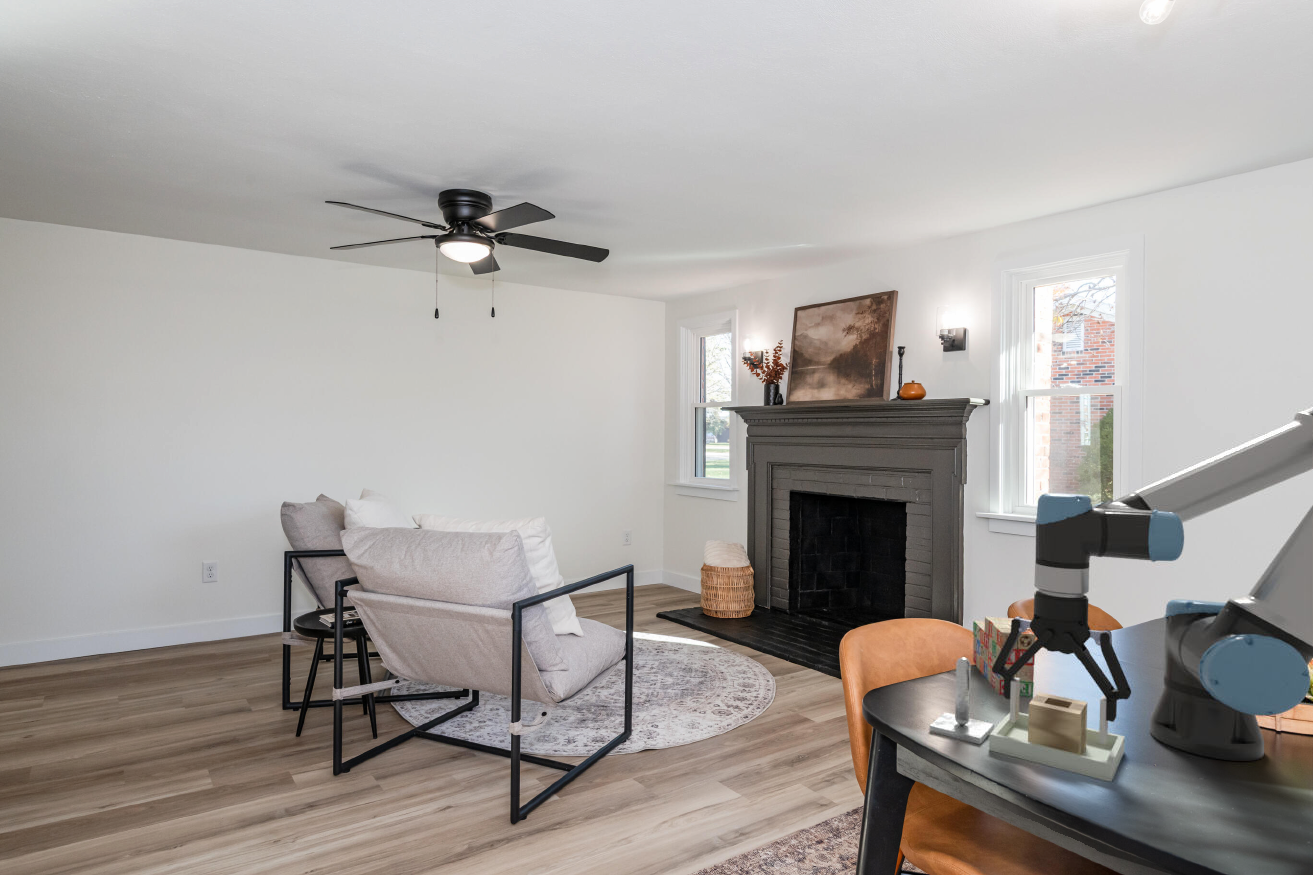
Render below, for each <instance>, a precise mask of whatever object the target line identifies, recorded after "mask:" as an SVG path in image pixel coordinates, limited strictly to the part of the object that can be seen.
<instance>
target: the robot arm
mask: <svg viewBox="0 0 1313 875" xmlns="http://www.w3.org/2000/svg"><path fill="white" fill-rule="evenodd" d="M1311 470H1313V406H1312V405H1311V407H1308V408H1306V409H1303V410H1302V411H1300V412H1297V413H1296V414H1294V418H1293V421H1292V422H1291V423H1288V424H1286V425H1284V426H1282V427H1280V428H1279V427H1278V428H1277V429H1275V430H1272V431H1270V432H1268V433H1266V434H1264V435H1261V436H1259V437H1257V438H1254V439H1252V440H1250V441H1248V442H1245V443H1242V444H1240V445H1239V446H1237V447H1234V448H1232V449H1229V450H1227V451H1224V452H1222V453H1219V454H1218V455H1216V456H1213V457H1211V458H1208V459H1206V460H1203V461H1202V462H1199V463H1197V464H1195V465H1192V466H1190V467H1188V468H1185V469H1184V470H1182V471H1181V470H1180V471H1179V472H1177V473H1174V474H1172V475H1169V476H1168V477H1165V478H1163V479H1161V480H1159V481H1158V480H1157V481H1156V482H1153V483H1152V484H1149V485H1147V486H1144V487H1143V488H1140V489H1138V490H1135V491H1134V492H1131V493H1129V494H1126V495H1125V496H1122V497H1120V498H1117V499H1115V500H1107V501H1106V500H1105V501H1102V502H1098V503H1096V504H1095V505H1093V503H1092V500H1091V497H1090V496H1088V495H1086V494H1077V493H1067V492H1065V493H1064V492H1063V493H1061V492H1049V493H1048V492H1047V493H1043V494H1041V495H1040V496H1039V497H1038V500H1037V511H1036V519H1035V562H1034V587H1035V588H1036V589H1037V590H1036V591H1035V592H1034V595H1033V618H1032V619H1025V618H1023V617H1022V616H1019V615H1018V616H1015V617H1014V619H1013V620H1012V622H1011V632H1010V634H1009V636H1008V638H1007V640H1006V642H1005V644H1004V646H1003V648H1002V650H1001V652H1000V654H999V656H998V657H997V659H996V661H995V663H994V665H993V667H992V671H993V672H994V673H996V674H999V675H1001V676H1002V677H1003V678H1004V695H1003V697H1004V699H1006V700H1009V702H1010V703H1009V713H1010V722H1013V723H1015V722H1016V721H1017V720H1018V719H1019V712H1020V696H1019V695H1020V678H1016V677H1015V678H1014V675H1015V674H1016V673H1017V672H1018V671H1019V670H1020V669H1021V668H1022V667H1023V666H1024V665H1025V664H1026V663H1027V662H1028V661H1029V660H1030V659H1031V658H1032V657H1033V656H1034V655H1035V656H1036V654H1037V653H1038V652H1039V651H1040V650H1041V649H1042V648H1044V649H1046V650H1047V652H1059V653H1061V654H1064V655H1071V654H1074V656H1075V657H1076V658H1077V660H1079V661H1080V662H1081V664H1082V666H1083V667H1084V668H1085V669H1086V671H1087V673H1088V674H1089V676H1090V677H1091V678H1092V680H1093V681H1094V683H1095V684H1096V685H1097V687H1098V688H1099V689H1100V691H1101V692H1102V694H1103V695H1102V696H1101V698H1100V699H1099V743H1103V744H1105V743H1106V741H1107V739H1108V733H1109V730H1108V729H1109V722H1111V723H1112V722H1115V720H1116V719H1117V709H1118V708H1117V707H1118V705H1117V703H1118V701H1119V700H1129V698H1130V696H1131V695H1132V690H1131V687H1130V685H1129V683H1128V680H1127V677H1126V676H1125V675H1126V674H1125V672H1124V671H1123V668H1122V665H1121V662H1120V661H1119V659H1118V657H1117V654H1116V652H1115V650H1114V646H1113V641H1112V640H1113V639H1112V637H1113V636H1112V632H1111V630H1110V629H1109V630H1108V629H1104V630H1095V629H1094V630H1093V629H1091V628H1090V626H1089V598H1088V597H1087V595H1085V594H1088V593H1089V590H1090V558H1091V557H1097V558H1103V557H1104V558H1113V559H1114V558H1116V559H1117V558H1118V559H1129V560H1139V561H1141V560H1142V561H1151V562H1153V563H1154V562H1158V561H1159V562H1161V561H1162V562H1173V561H1177V560H1178V559H1179V558H1180V557H1181V555H1182V554H1183V550H1184V544H1185V531H1184V530H1185V529H1184V524H1183V523H1185V522H1188V521H1190V520H1193V519H1196V518H1198V517H1200V516H1202V515H1206V514H1207V513H1209V512H1212V511H1214V510H1217V509H1220V508H1222V507H1225V506H1227V505H1229V504H1231V503H1234V502H1237V501H1239V500H1242V499H1244V498H1247V497H1248V496H1251V495H1253V494H1255V493H1258V492H1261V491H1264V490H1265V489H1268V488H1270V487H1273V486H1275V485H1277V484H1280V483H1283V482H1285V481H1287V480H1290V479H1292V478H1294V477H1297V476H1299V475H1302V474H1304V473H1306V472H1309V471H1311ZM1163 620H1164V655H1163V656H1164V657H1163V659H1164V660H1163V687H1162V690H1161V693H1160V695H1159V696H1158V697H1159V698H1158V699H1157V702H1156V704H1155V706H1154V707H1153V710H1152V713H1151V716H1150V719H1149V732H1150V734H1151V735H1152V736H1153V737H1154V738H1155V739H1156V740H1158V741H1160V742H1162V743H1163V744H1165V745H1167V746H1170V747H1173V749H1178V750H1180V751H1183V752H1187V753H1190V754H1194V755H1198V756H1201V757H1206V758H1211V759H1217V760H1224V761H1233V762H1234V761H1235V762H1249V761H1256V760H1259V759H1262V758H1263V757H1264V755H1265V740H1264V736H1263V734H1262V731H1261V728H1260V725H1259V722H1258V719H1257V716H1259V717H1260V716H1262V717H1263V716H1267V717H1268V716H1275V715H1280V714H1283V713H1286V712H1289V711H1291V710H1292V709H1294V708H1296V706H1298V705H1299V704H1300V703H1301V702H1302V701H1303V700H1304V699H1305V698H1306V696H1307V695H1308V692H1309V689H1310V686H1311V675H1310V670H1309V666H1308V665H1309V664H1310V662H1312V659H1313V505H1311V507H1310V508H1309V510H1308V511H1307V512H1306V514H1305V515H1304V517H1303V518H1302V519H1301V521H1300V522H1299V524H1298V525H1297V526H1296V528H1295V529H1294V530H1293V532H1292V533H1291V534H1290V536H1289V537H1288V539H1287V540H1286V542H1285V543H1284V545H1283V546H1282V547H1281V548H1280V549H1279V551H1278V553H1277V554H1276V555H1275V556H1274V558H1273V560H1272V561H1271V562H1270V563H1269V565H1268V566H1267V568H1266V569H1265V570H1264V572H1263V574H1262V575H1261V576H1260V578H1258V580H1257V582H1256V583H1255V584H1254V586H1253V587H1252V589H1251V590H1250V592H1249V593H1248V594H1246V595H1245V596H1239V597H1233V598H1228V600H1227V602H1219V601H1218V602H1217V601H1210V600H1209V601H1207V600H1194V599H1177V598H1176V599H1171V600H1170V601H1168V602H1167V604H1166V606H1165V614H1164V616H1163ZM1027 628H1029V629H1030V630H1031V631H1032V632H1033V633H1034V634H1035V636H1036V637H1035V638H1036V639H1035V642H1034V643H1033V644H1032V645H1031V646H1030V647H1029V648H1028V649H1027V651H1026V652H1025V653H1024V654H1023V655H1022V656H1021V657H1020V658H1019V659H1018V660H1017V661H1016V662H1015V663H1014V664H1013V665H1012V666H1011V667H1010V668H1007V667H1005V664H1006V662H1007V660H1008V658H1009V657H1010V655H1011V653H1012V651H1013V649H1014V647H1015V645H1016V643H1017V641H1018V639H1019V637H1020V635H1021V633H1023V632H1025V631H1026V630H1027ZM1090 638H1091V639H1093V640H1094V642H1095V644H1096V645H1097V646H1099V647H1100V650H1101V653H1102V656H1103V658H1104V660H1105V663H1106V665H1107V668H1108V670H1109V673H1110V675H1111V677H1112V680H1113V682H1114V685H1115V687H1116V688H1115V687H1114V685H1113V684H1112V682H1111V681H1110V680H1109V678H1108V677H1107V675H1106V674H1105V672H1104V671H1103V670H1102V669H1101V667H1100V666H1099V665H1098V663H1097V662H1096V660H1095V659H1094V657H1093V656H1092V655H1091V652H1090V651H1089V648H1087V646H1086V644H1085V643H1086V642H1087V641H1088V640H1090Z"/></svg>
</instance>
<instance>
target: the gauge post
mask: <svg viewBox="0 0 1313 875" xmlns="http://www.w3.org/2000/svg"><path fill="white" fill-rule="evenodd" d="M955 667H956V668H955V671H956V672H955V697H954V701H955V702H954V704H955V705H954V714H953V713H949V712H944V713H943V714H941V715H940V716H939V717H938V718H936V720H934V721H933V722H932V723H930V725H929V733H930V732H931V733H934V734H938V735H942V736H946V737H948V738H949V737H950V738H954V739H956V740H957V739H958V740H961V741H965V742H969V743H972V744H976V745H981V744H982V743H983V742H984V741H985V740H987V738H989V735H990V733H991V732H992V731H993V730H994V729H995V724H994V723H991V722H988V721H987V722H986V721H982V720H978V719H974V718H970V708H971V707H970V705H971V704H970V703H971V702H970V700H971V698H970V697H971V661H970V660H969V659H968V658H966V657H959V658H957V660H956V666H955Z"/></svg>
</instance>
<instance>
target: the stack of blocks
mask: <svg viewBox="0 0 1313 875" xmlns="http://www.w3.org/2000/svg"><path fill="white" fill-rule="evenodd" d="M1014 618H1015V617H1014ZM1014 618H1012V617H993V616H985V617H984V620H983V621H982V620H973V623H972V624H973V625H972V626H973V627H972V634H973V645H972V646H973V654H972V655H973V658H972V659H973V661H972V662H973V663H974V665H976V668H977V669H978V671H980V672H981V674H982V675H983V676H984V677H985V678H986V680H987V681H988V682H989V683H990V685H991V686H992V687H993V688H994V690H995V692H996V693H998V695H1002V696H1004V678H1003V677H1002V676H1001V675H999V674H996V673H994V672H993V671H992V667H993V665H994V663H995V661H996V659H997V657H998V656H999V654H1000V652H1001V650H1002V648H1003V646H1004V644H1005V642H1006V640H1007V638H1008V636H1009V634H1010V632H1011V622H1012V620H1013V619H1014ZM1036 638H1037V637H1036V636H1035V634H1034V633H1033V631H1032V630H1031V628H1027V630H1026V631H1025V632H1023V633H1021V635H1020V637H1019V639H1018V641H1017V643H1016V645H1015V647H1014V649H1013V651H1012V653H1011V655H1010V657H1009V658H1008V660H1007V662H1006V664H1005V667H1007V668H1010V667H1011V666H1012V665H1013V664H1014V663H1015V662H1016V661H1017V660H1018V659H1019V658H1020V657H1021V656H1022V655H1023V654H1024V653H1025V652H1026V651H1027V649H1028V648H1029V647H1030V646H1031V645H1032V644H1033V643H1034V642H1035V641H1036ZM1035 656H1036V654H1035V655H1034V656H1033V657H1032V658H1031V659H1030V660H1029V661H1028V662H1027V663H1026V664H1025V665H1024V666H1023V667H1022V668H1021V669H1020V670H1019V671H1018V672H1017V673H1016V674H1015V675H1014V678H1015V677H1016V678H1020V695H1019V697H1029V698H1030V697H1032V698H1034V685H1035V683H1034V673H1035V672H1034V671H1035V663H1036V662H1035V658H1036V657H1035Z"/></svg>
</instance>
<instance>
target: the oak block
mask: <svg viewBox="0 0 1313 875" xmlns="http://www.w3.org/2000/svg"><path fill="white" fill-rule="evenodd" d="M1028 715H1029V720H1028V742H1031V743H1035V744H1039V745H1043V746H1047V747H1051V748H1055V749H1059V750H1063V751H1067V752H1071V753H1075V754H1079V755H1082V753H1083V751H1084V749H1085V748H1086V732H1087V728H1088V726H1087V725H1088V724H1087V722H1088V702H1087V701H1083V700H1079V699H1074V698H1068V697H1065V696H1064V697H1063V696H1061V695H1060V696H1059V695H1054V694H1049V693H1043V692H1040V691H1038V692H1037V694H1036V695H1035V696H1033V697H1032V699H1031V700H1030V702H1029V703H1028Z"/></svg>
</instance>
